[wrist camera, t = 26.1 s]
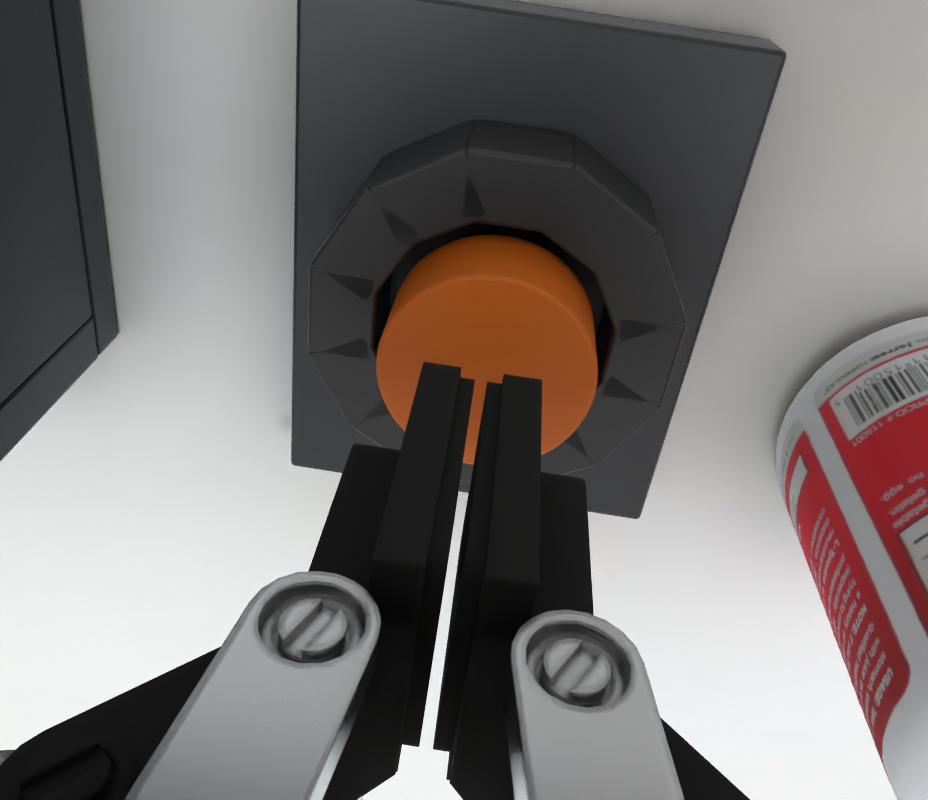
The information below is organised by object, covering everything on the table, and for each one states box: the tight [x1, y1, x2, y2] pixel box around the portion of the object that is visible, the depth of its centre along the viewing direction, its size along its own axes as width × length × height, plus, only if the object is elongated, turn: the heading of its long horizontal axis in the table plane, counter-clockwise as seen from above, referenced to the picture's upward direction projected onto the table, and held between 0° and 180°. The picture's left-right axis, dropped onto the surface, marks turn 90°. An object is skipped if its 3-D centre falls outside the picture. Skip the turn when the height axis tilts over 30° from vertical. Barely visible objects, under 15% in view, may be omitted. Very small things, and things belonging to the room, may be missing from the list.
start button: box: [376, 235, 598, 465], centre depth 14 cm, size 4×4×2 cm
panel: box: [291, 0, 786, 519], centre depth 16 cm, size 10×8×3 cm
